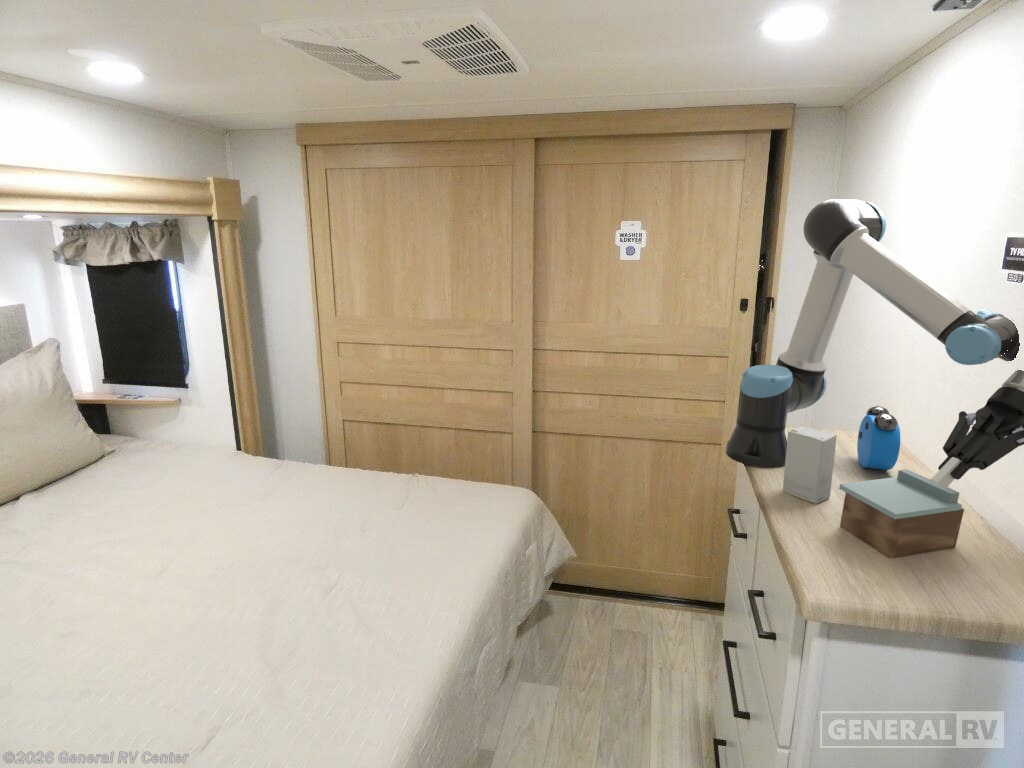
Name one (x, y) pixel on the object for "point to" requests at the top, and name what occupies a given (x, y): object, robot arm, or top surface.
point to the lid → (904, 495)
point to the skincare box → (809, 464)
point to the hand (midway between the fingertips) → (935, 486)
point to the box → (900, 529)
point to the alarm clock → (878, 439)
